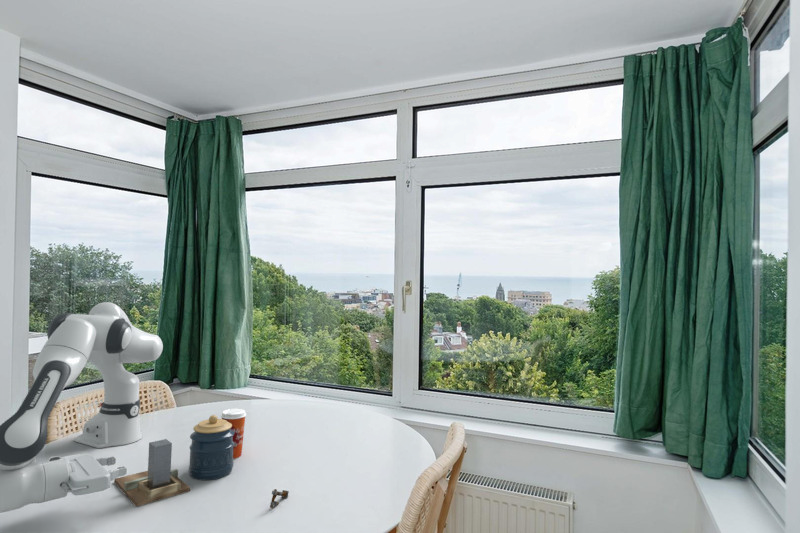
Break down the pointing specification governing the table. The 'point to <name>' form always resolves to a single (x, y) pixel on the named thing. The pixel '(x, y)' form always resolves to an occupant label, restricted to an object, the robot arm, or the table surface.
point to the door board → (142, 494)
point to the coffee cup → (236, 428)
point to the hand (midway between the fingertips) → (120, 465)
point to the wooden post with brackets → (275, 493)
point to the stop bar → (159, 464)
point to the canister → (211, 449)
